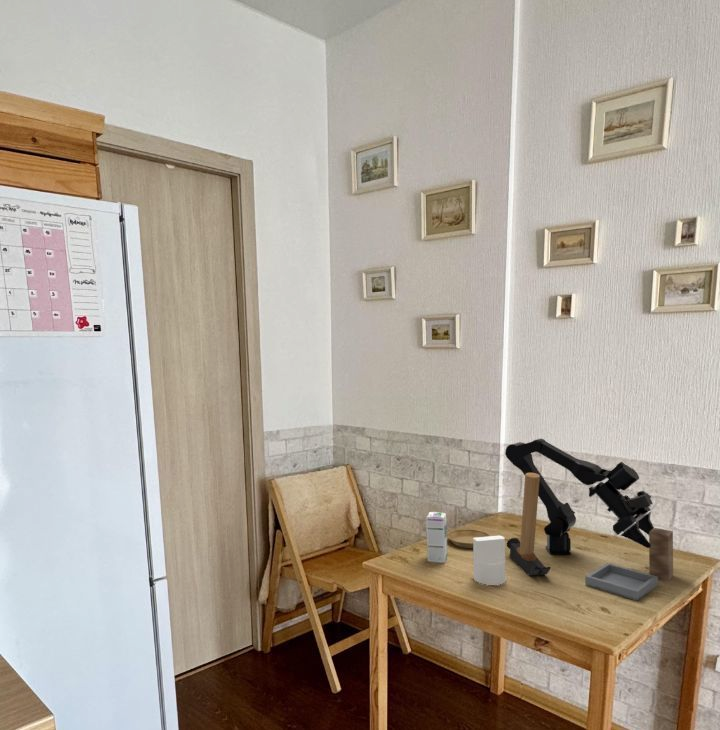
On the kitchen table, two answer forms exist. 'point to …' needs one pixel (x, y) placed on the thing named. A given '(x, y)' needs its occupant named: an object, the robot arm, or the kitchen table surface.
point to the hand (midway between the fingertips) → (654, 542)
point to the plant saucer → (465, 537)
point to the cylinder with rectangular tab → (489, 560)
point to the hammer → (528, 530)
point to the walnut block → (661, 553)
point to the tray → (622, 581)
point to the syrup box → (436, 537)
